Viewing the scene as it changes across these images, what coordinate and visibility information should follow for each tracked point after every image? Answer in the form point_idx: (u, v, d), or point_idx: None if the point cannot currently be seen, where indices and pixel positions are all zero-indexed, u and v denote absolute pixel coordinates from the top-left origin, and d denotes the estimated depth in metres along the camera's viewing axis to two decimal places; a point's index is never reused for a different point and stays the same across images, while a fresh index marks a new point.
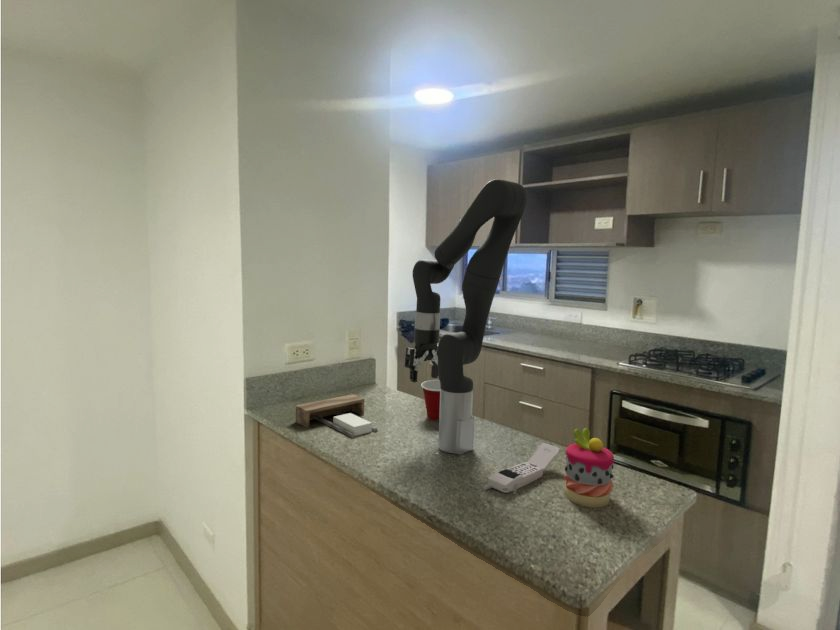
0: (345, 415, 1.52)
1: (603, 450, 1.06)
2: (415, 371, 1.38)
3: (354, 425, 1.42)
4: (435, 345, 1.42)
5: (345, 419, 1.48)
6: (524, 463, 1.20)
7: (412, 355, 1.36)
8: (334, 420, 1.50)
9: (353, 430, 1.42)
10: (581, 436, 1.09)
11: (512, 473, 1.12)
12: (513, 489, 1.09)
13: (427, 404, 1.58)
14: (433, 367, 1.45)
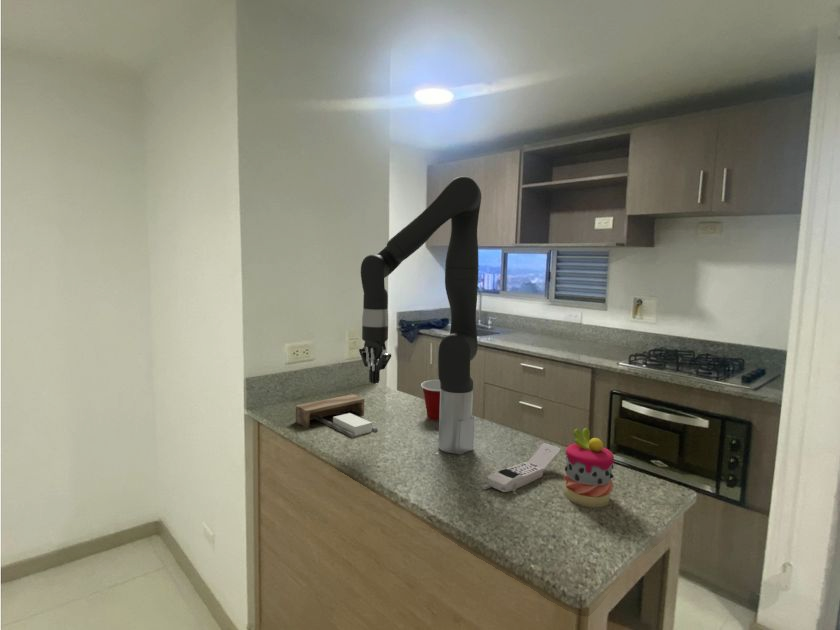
0: (345, 415, 1.52)
1: (603, 450, 1.06)
2: None
3: (355, 425, 1.42)
4: None
5: (345, 419, 1.48)
6: (524, 463, 1.20)
7: None
8: (334, 420, 1.50)
9: (354, 430, 1.42)
10: (581, 436, 1.09)
11: (512, 473, 1.12)
12: (512, 489, 1.09)
13: (427, 404, 1.58)
14: None
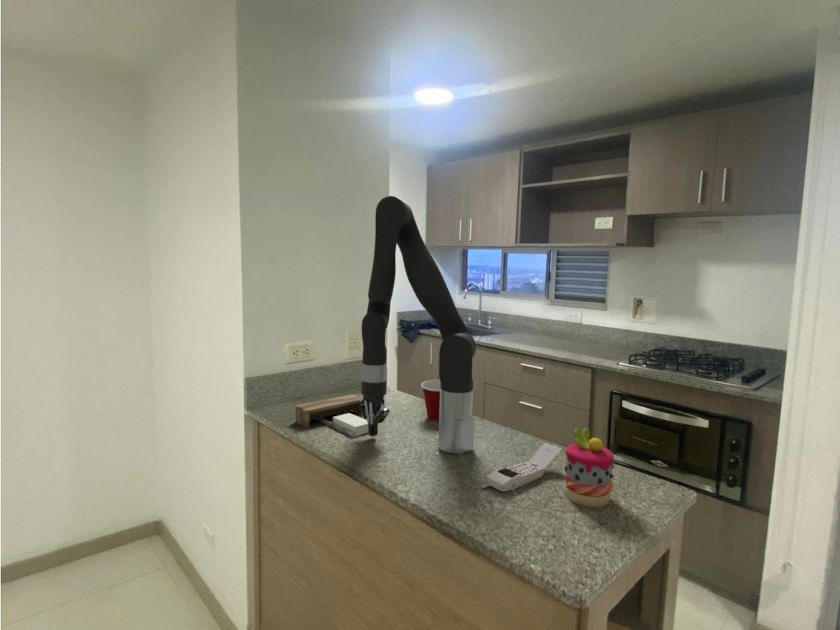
0: (344, 415, 1.52)
1: (603, 450, 1.06)
2: (376, 424, 1.40)
3: (355, 425, 1.43)
4: None
5: (345, 419, 1.48)
6: (525, 463, 1.20)
7: None
8: (334, 420, 1.49)
9: (354, 430, 1.42)
10: (581, 436, 1.09)
11: (511, 472, 1.13)
12: (511, 488, 1.10)
13: (427, 404, 1.58)
14: None
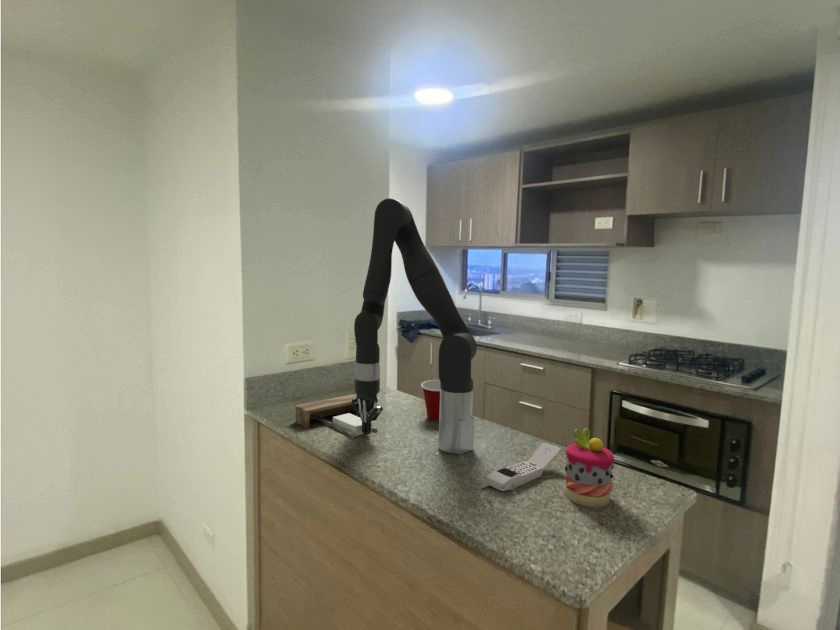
0: (344, 415, 1.52)
1: (603, 450, 1.06)
2: (370, 422, 1.42)
3: (356, 425, 1.43)
4: None
5: (345, 419, 1.48)
6: (524, 462, 1.20)
7: None
8: (333, 420, 1.49)
9: (354, 430, 1.42)
10: (581, 436, 1.09)
11: (510, 472, 1.13)
12: (511, 488, 1.10)
13: (427, 404, 1.58)
14: None
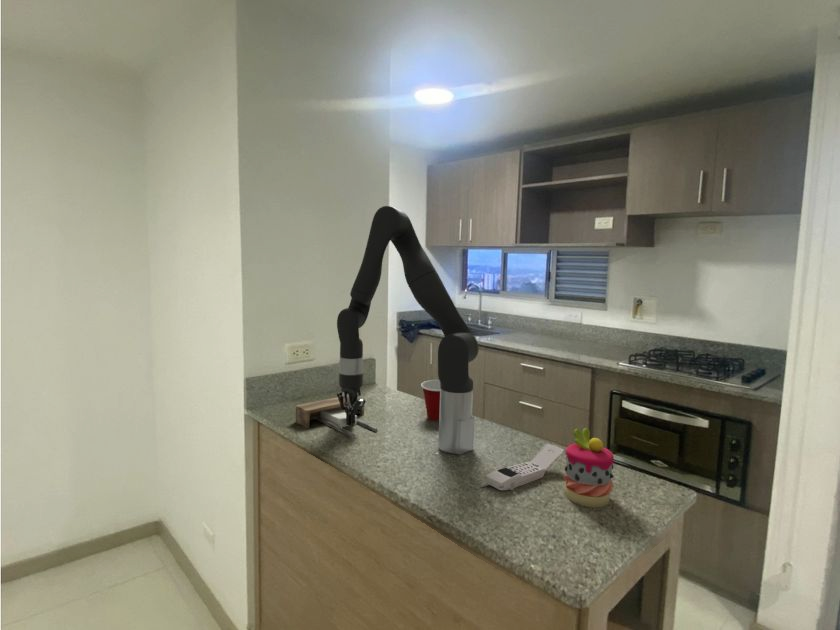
0: (332, 408, 1.58)
1: (603, 450, 1.06)
2: None
3: (340, 418, 1.49)
4: None
5: (332, 412, 1.55)
6: (526, 463, 1.20)
7: None
8: (321, 413, 1.56)
9: (339, 423, 1.48)
10: (581, 436, 1.09)
11: (511, 472, 1.13)
12: (510, 487, 1.10)
13: (427, 404, 1.58)
14: None
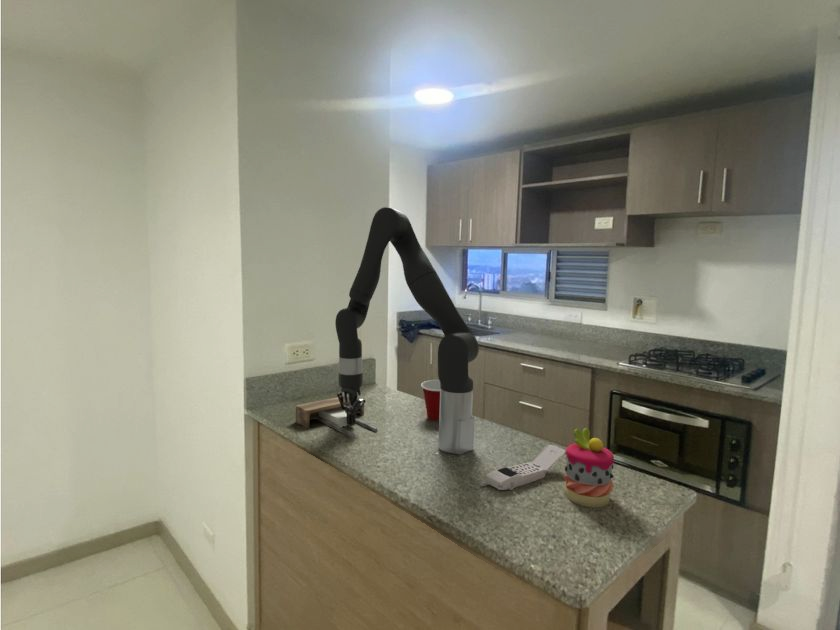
0: None
1: (603, 450, 1.06)
2: (354, 414, 1.49)
3: (339, 417, 1.49)
4: None
5: (330, 411, 1.55)
6: (527, 463, 1.20)
7: None
8: (319, 412, 1.56)
9: (337, 422, 1.48)
10: (581, 436, 1.09)
11: (511, 472, 1.13)
12: (509, 487, 1.10)
13: (427, 404, 1.58)
14: None
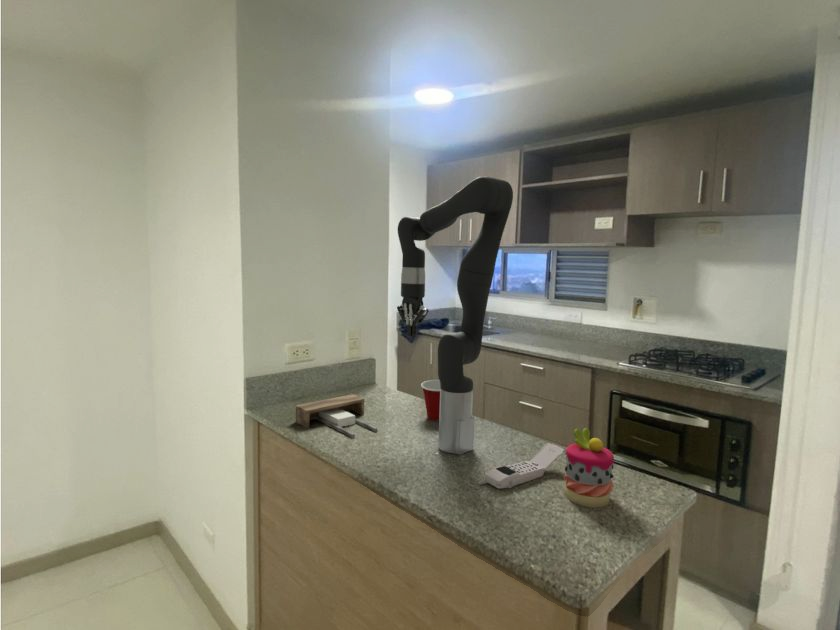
0: None
1: (603, 450, 1.06)
2: None
3: (338, 418, 1.49)
4: None
5: (330, 412, 1.55)
6: (526, 462, 1.21)
7: None
8: (319, 413, 1.56)
9: (337, 422, 1.48)
10: (581, 436, 1.09)
11: (509, 470, 1.14)
12: (508, 486, 1.11)
13: (427, 404, 1.58)
14: None
